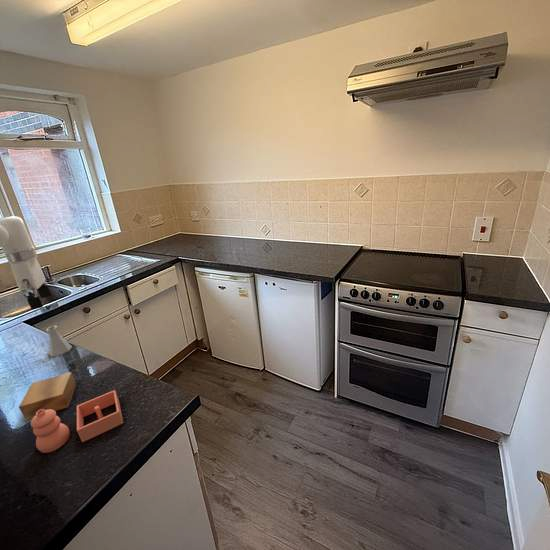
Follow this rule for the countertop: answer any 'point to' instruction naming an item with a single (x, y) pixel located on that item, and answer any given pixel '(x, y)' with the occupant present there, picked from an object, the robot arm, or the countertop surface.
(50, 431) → the pottery
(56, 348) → the flask
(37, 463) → the countertop surface
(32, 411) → the oak block
